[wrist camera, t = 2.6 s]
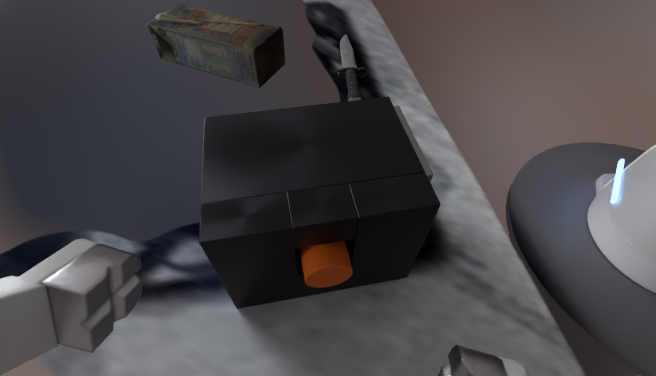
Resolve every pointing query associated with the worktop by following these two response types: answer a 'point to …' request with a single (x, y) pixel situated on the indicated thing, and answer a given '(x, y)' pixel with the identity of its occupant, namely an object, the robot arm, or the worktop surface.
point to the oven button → (326, 264)
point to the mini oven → (312, 196)
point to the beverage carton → (219, 44)
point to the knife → (350, 69)
